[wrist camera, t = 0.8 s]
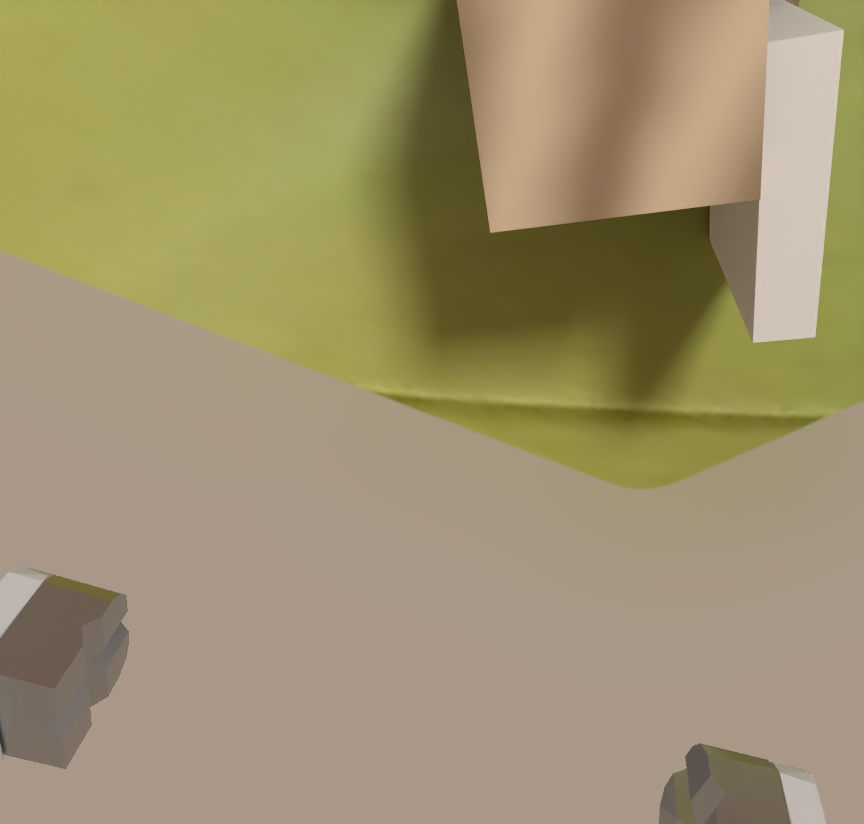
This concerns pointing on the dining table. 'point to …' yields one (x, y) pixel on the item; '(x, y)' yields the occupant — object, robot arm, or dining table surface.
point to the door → (786, 183)
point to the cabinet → (615, 105)
